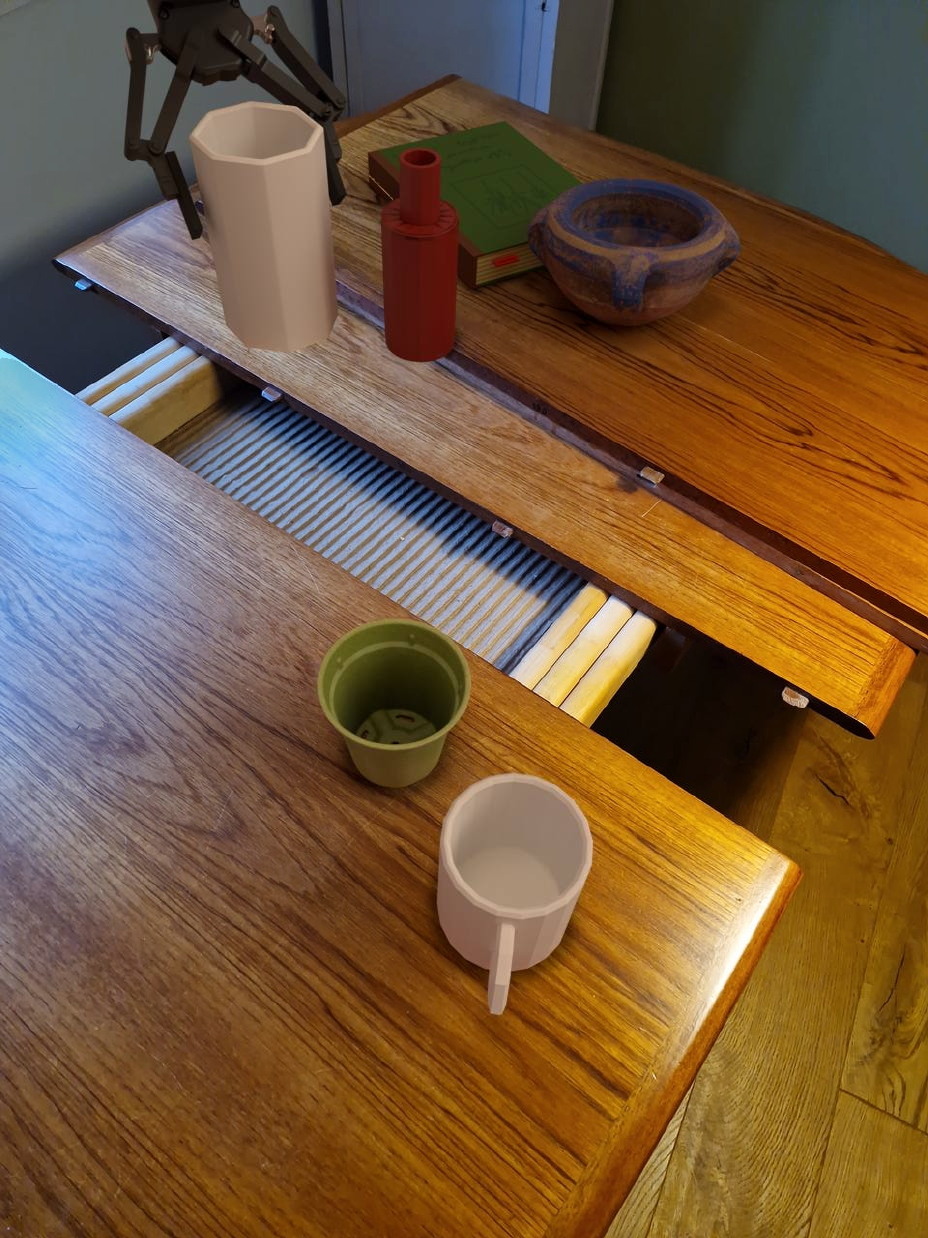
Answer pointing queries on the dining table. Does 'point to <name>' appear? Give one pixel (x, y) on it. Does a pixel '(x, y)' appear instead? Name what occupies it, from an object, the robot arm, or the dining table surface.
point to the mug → (510, 874)
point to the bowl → (632, 247)
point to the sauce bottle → (419, 262)
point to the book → (485, 195)
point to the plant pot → (394, 696)
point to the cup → (268, 223)
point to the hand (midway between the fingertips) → (270, 217)
